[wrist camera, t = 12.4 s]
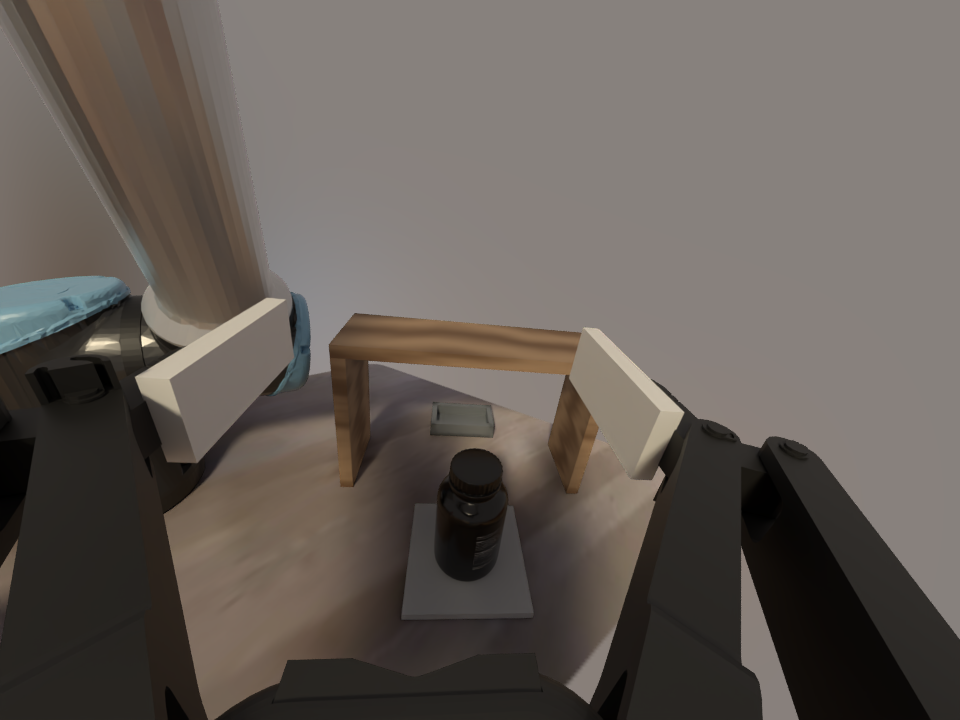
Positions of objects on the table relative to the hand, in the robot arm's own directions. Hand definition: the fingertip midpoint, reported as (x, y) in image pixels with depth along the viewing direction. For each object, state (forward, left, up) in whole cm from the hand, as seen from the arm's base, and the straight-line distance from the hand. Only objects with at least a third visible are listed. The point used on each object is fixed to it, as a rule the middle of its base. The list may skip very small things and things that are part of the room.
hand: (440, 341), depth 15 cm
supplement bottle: (-1, +10, -28) cm, 30 cm away
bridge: (-8, +22, -28) cm, 37 cm away
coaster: (-1, +10, -28) cm, 30 cm away
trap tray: (-12, +30, -28) cm, 43 cm away
